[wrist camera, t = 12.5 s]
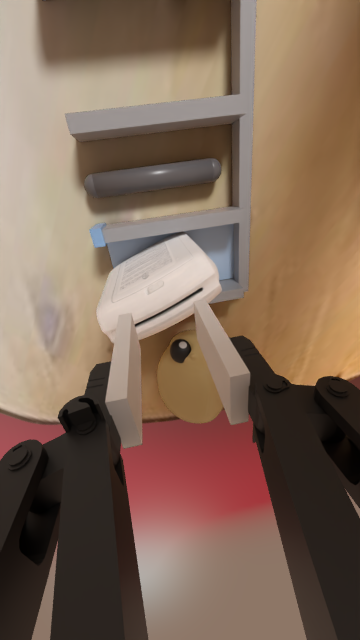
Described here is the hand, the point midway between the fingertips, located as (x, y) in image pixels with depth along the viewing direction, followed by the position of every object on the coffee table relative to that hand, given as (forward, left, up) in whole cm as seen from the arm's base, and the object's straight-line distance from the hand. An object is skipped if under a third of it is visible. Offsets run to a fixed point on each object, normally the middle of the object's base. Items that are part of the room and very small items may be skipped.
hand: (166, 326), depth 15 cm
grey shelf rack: (-8, +3, -15) cm, 17 cm away
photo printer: (0, 0, -15) cm, 15 cm away
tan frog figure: (+13, +3, -15) cm, 20 cm away
